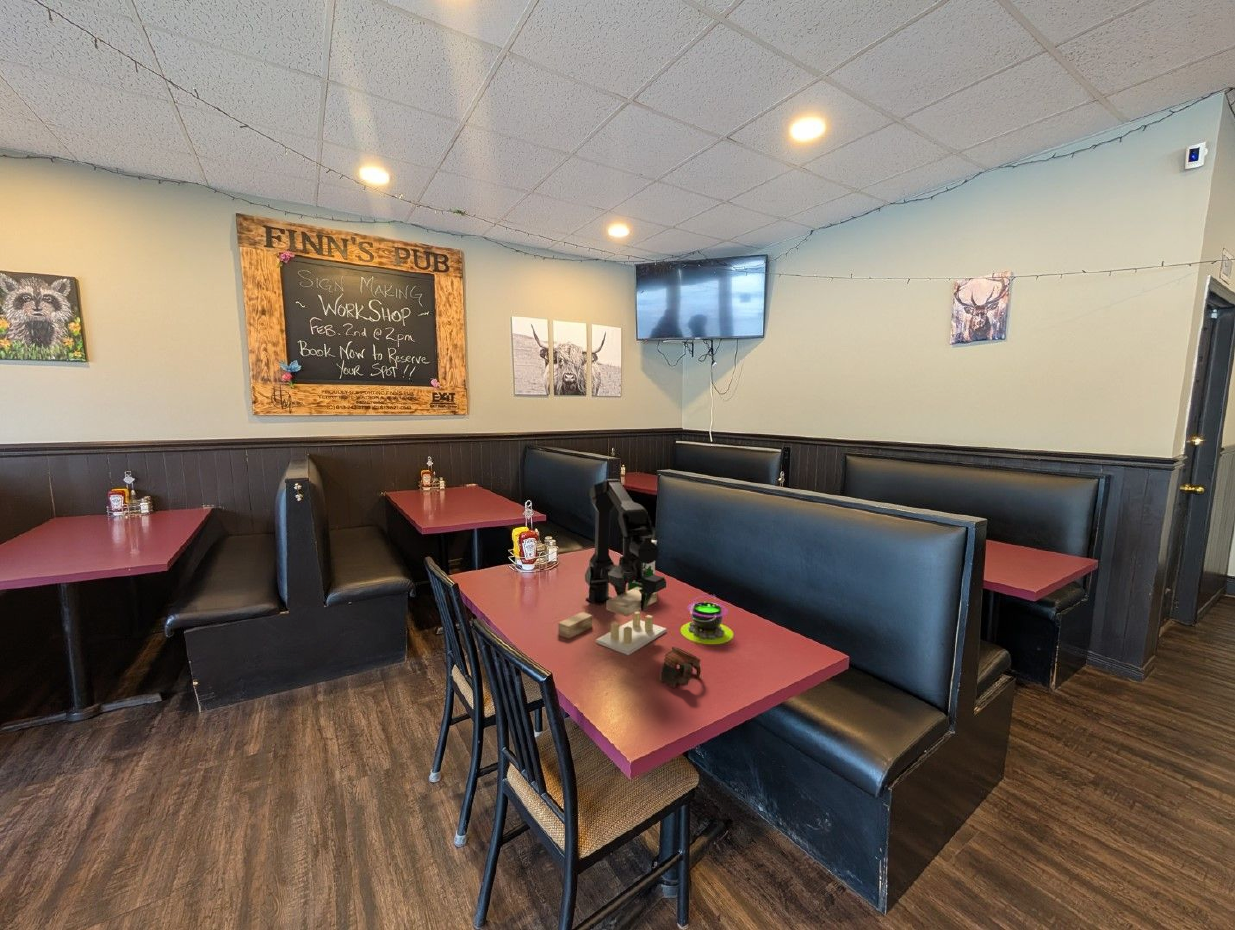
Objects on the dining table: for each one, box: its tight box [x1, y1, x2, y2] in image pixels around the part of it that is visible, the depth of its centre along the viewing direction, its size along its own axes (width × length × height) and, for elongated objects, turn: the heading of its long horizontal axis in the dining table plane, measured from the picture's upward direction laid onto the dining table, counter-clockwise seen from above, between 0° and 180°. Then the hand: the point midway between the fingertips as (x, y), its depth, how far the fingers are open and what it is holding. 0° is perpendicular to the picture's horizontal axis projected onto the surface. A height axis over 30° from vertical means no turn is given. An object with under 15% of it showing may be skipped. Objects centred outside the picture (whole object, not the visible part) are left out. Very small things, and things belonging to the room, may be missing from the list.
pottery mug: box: [658, 646, 702, 689], centre depth 119 cm, size 12×10×8 cm
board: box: [605, 587, 658, 617], centre depth 140 cm, size 14×7×2 cm, turn 142°
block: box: [557, 611, 594, 640], centre depth 145 cm, size 10×4×4 cm, turn 142°
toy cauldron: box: [680, 592, 734, 645], centre depth 145 cm, size 15×15×11 cm
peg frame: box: [595, 610, 667, 656], centre depth 141 cm, size 18×11×5 cm, turn 142°
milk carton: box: [627, 539, 658, 591], centre depth 176 cm, size 9×9×20 cm
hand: (632, 607), depth 141 cm, fingers closed on board, 7 cm apart
